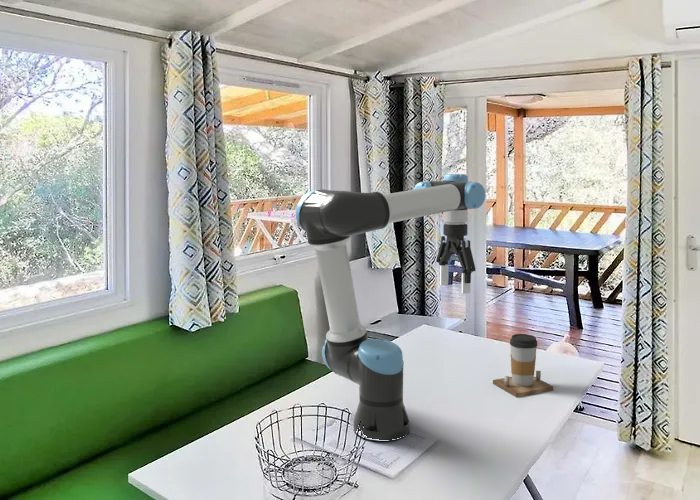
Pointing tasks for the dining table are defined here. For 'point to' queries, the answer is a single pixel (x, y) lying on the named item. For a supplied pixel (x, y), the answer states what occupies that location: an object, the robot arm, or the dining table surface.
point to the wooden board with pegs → (520, 391)
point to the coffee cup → (523, 359)
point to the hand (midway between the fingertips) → (454, 288)
